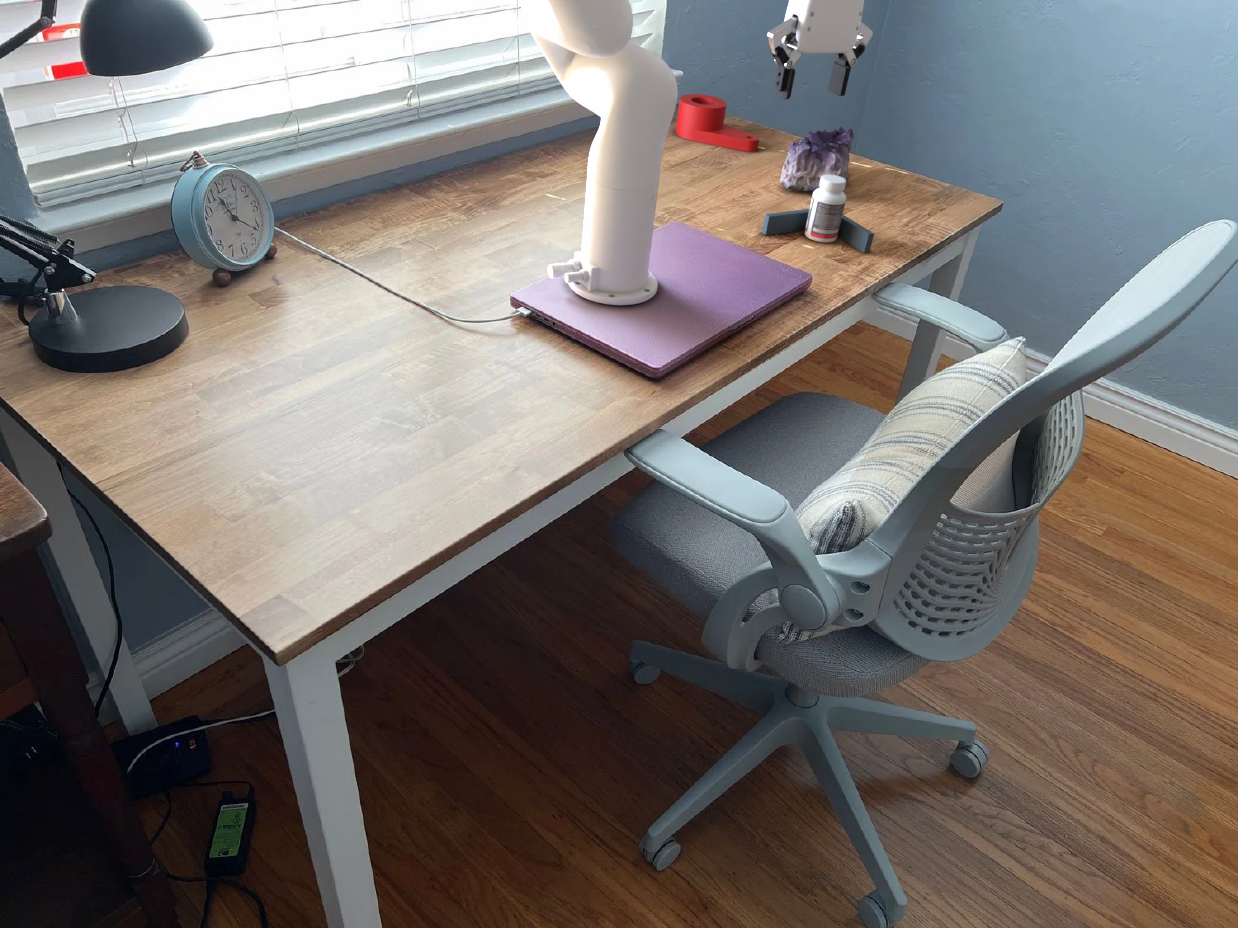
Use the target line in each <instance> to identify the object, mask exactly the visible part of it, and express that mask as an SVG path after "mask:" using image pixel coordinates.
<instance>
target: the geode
mask: <svg viewBox="0 0 1238 928" xmlns="http://www.w3.org/2000/svg"><path fill="white" fill-rule="evenodd" d="M854 138H855V134H854V132H853V129H852V127H850V128H849V129H846V130H845V129H844V128H843V127H842V126H839V127H838V128H837V129H833V131H829V132H828V131H827V130H826V129H825V128H824V129H822V130H817V131H815V132H812V131H810V130H809V131H807V134H806V136H805V137H804V138H803V139H801V140H799V141H792V142H791V144H790V145H789V146H788V147H787V151H788V152H787V155H786V158H785V161H784V163H783V165H782V166H783V167H782V168H781V174H780V179H779V184H780V185H783V187H784V189H785V190H786V191H789V190H796V191H799V192H800V191H801V192H814V191H815V190H816V189H818V188H820V186H819V185H820V180H821V177H822V176H823V175H837V176H840V177H843V178H844V179H845V180H846V183H847V182H848V180H849V164H850V157H851V156H850V152H851V149H852V142H853V139H854Z"/></svg>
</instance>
